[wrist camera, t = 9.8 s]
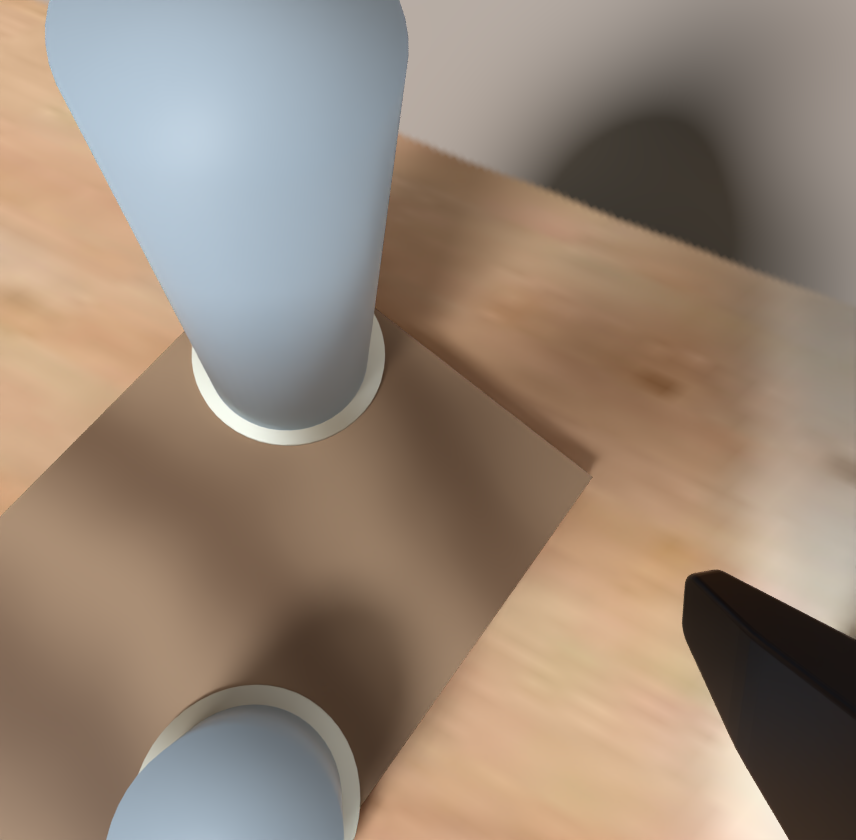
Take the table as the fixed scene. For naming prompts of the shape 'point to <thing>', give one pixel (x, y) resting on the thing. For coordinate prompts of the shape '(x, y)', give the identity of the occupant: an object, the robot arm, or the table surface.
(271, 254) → the tall pin
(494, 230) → the table surface
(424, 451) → the board
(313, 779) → the short pin
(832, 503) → the table surface
